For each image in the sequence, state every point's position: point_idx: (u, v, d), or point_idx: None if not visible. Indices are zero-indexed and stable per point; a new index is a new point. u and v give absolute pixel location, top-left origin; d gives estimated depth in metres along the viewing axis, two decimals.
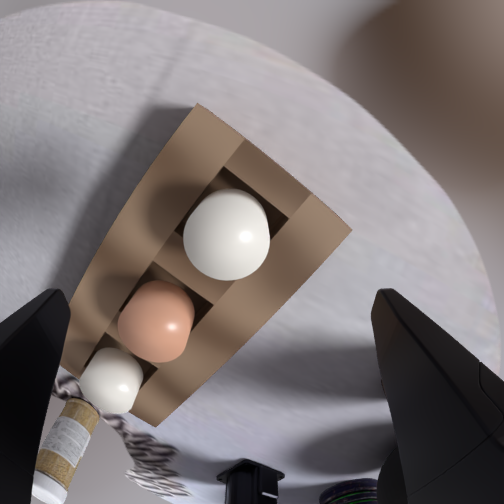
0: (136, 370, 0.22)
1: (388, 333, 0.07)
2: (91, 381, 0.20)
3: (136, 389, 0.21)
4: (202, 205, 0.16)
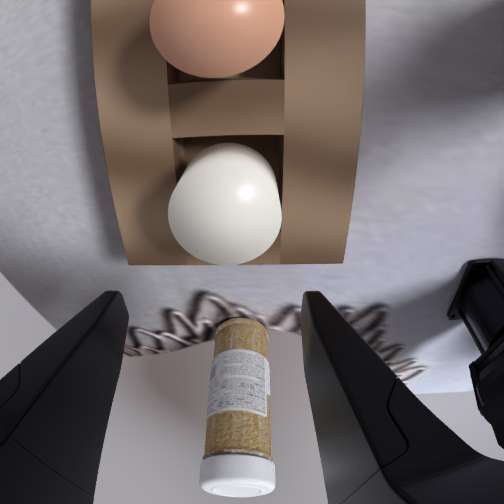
0: (252, 153, 0.13)
1: (308, 338, 0.07)
2: (188, 212, 0.12)
3: (270, 177, 0.13)
4: None
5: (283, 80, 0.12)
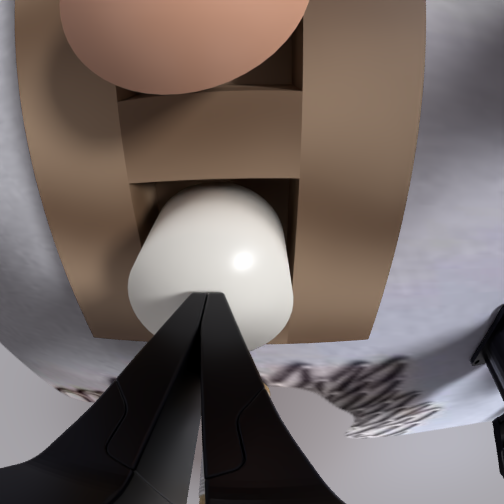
0: (250, 199, 0.09)
1: None
2: (156, 295, 0.08)
3: (276, 240, 0.09)
4: None
5: (300, 91, 0.08)
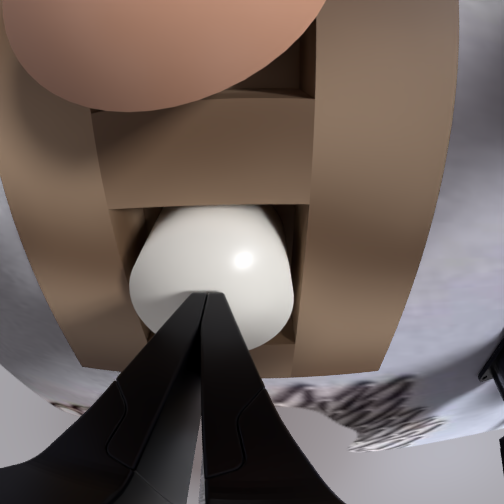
0: None
1: None
2: (158, 293, 0.08)
3: (277, 239, 0.09)
4: None
5: (312, 100, 0.06)
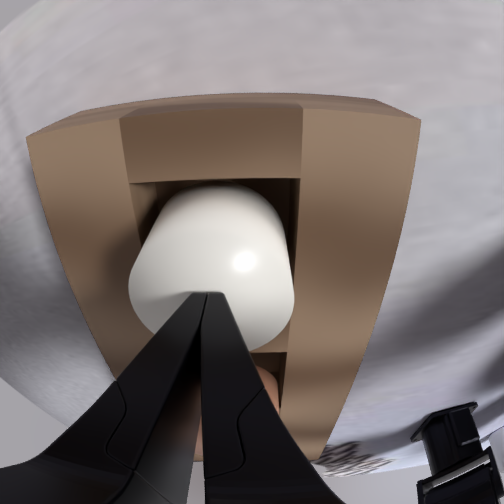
0: None
1: None
2: None
3: None
4: (131, 281, 0.08)
5: (279, 407, 0.16)
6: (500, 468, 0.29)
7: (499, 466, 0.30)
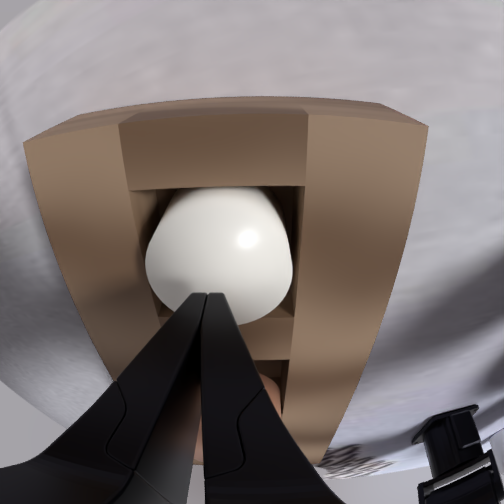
0: None
1: None
2: None
3: None
4: (148, 255, 0.09)
5: (281, 412, 0.16)
6: (501, 470, 0.29)
7: (500, 468, 0.30)
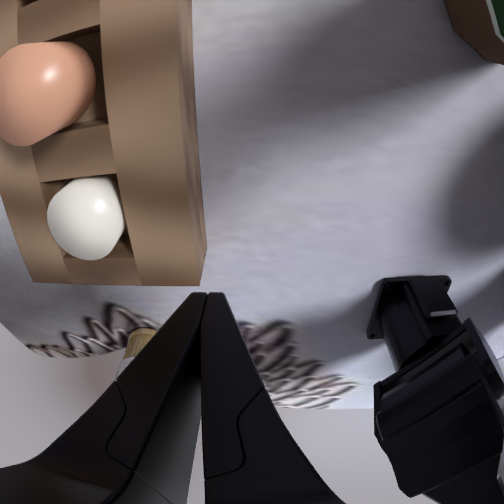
0: (106, 174, 0.16)
1: None
2: (58, 222, 0.15)
3: (111, 193, 0.16)
4: None
5: (108, 124, 0.13)
6: None
7: None
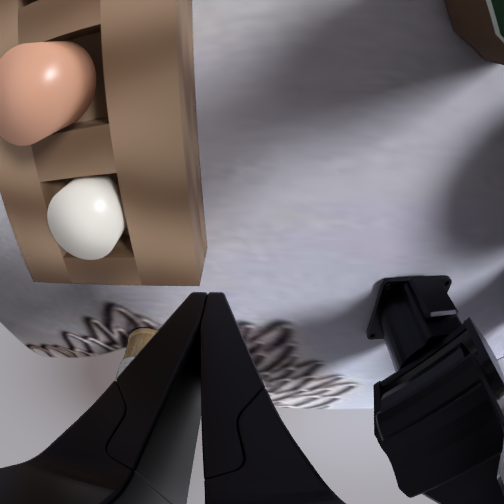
0: (106, 174, 0.16)
1: None
2: (59, 222, 0.15)
3: (111, 193, 0.16)
4: None
5: (109, 124, 0.13)
6: None
7: None
